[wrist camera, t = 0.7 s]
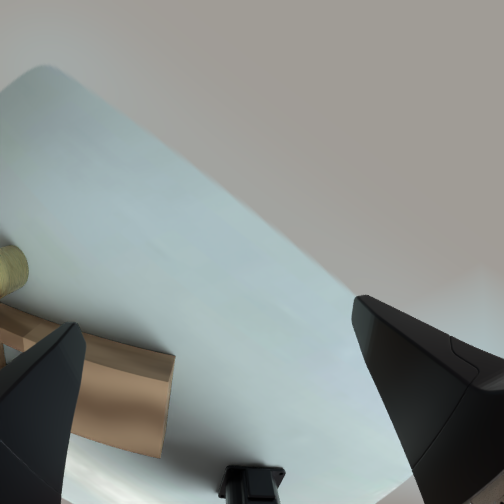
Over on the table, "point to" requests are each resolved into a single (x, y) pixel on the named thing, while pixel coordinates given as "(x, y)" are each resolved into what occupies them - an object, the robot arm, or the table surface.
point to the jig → (107, 385)
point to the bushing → (12, 270)
